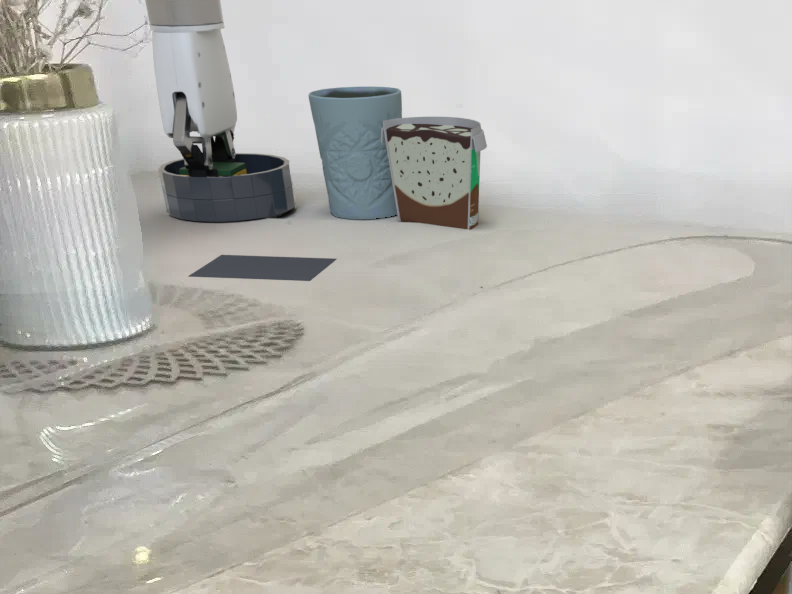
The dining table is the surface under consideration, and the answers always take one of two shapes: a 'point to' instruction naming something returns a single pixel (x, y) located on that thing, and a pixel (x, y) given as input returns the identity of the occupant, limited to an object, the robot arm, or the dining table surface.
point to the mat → (264, 267)
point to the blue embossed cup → (356, 148)
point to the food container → (435, 169)
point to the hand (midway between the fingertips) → (218, 201)
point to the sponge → (223, 169)
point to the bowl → (230, 191)
